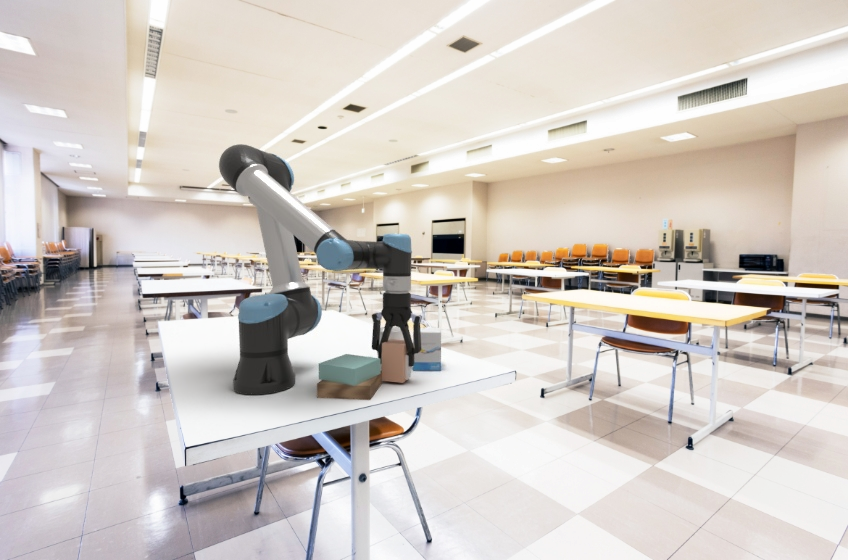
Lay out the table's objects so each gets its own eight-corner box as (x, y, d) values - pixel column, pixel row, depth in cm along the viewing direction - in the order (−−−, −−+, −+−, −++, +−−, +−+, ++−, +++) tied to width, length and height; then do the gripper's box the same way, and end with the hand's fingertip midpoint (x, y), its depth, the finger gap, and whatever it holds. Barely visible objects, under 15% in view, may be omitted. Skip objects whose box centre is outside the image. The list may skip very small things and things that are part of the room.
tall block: (381, 380, 109) (381, 343, 108) (389, 374, 115) (389, 339, 114) (403, 382, 107) (403, 345, 107) (409, 376, 113) (410, 340, 113)
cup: (401, 374, 118) (401, 332, 117) (371, 372, 120) (371, 331, 119) (408, 365, 127) (408, 327, 126) (380, 364, 129) (380, 326, 128)
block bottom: (317, 400, 98) (316, 383, 98) (334, 383, 111) (334, 369, 111) (370, 402, 97) (370, 385, 96) (382, 385, 110) (381, 370, 109)
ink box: (441, 371, 121) (441, 332, 120) (412, 371, 121) (412, 331, 120) (440, 363, 130) (440, 327, 129) (413, 363, 130) (413, 326, 129)
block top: (318, 379, 102) (318, 363, 101) (346, 368, 111) (346, 353, 111) (354, 385, 97) (354, 369, 96) (380, 373, 106) (380, 358, 106)
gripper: (358, 291, 109) (357, 377, 110) (427, 294, 103) (426, 384, 105) (369, 289, 116) (369, 370, 117) (434, 292, 111) (433, 376, 112)
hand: (396, 376), depth 111 cm, fingers closed on tall block, 6 cm apart
